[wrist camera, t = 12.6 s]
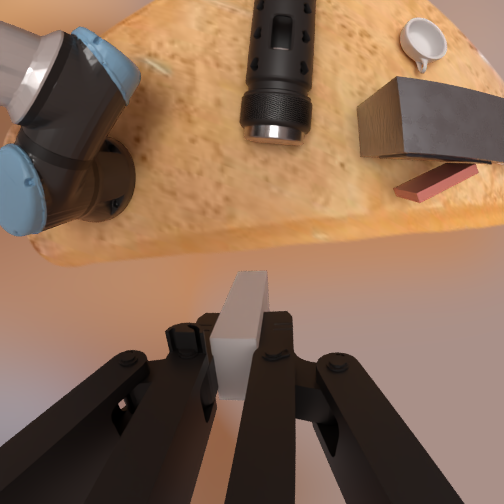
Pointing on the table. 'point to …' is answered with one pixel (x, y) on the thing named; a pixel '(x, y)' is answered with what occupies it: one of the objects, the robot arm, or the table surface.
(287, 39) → the muzzle brake
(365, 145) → the switch box
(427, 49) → the teacup
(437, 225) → the table surface
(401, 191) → the rocker
